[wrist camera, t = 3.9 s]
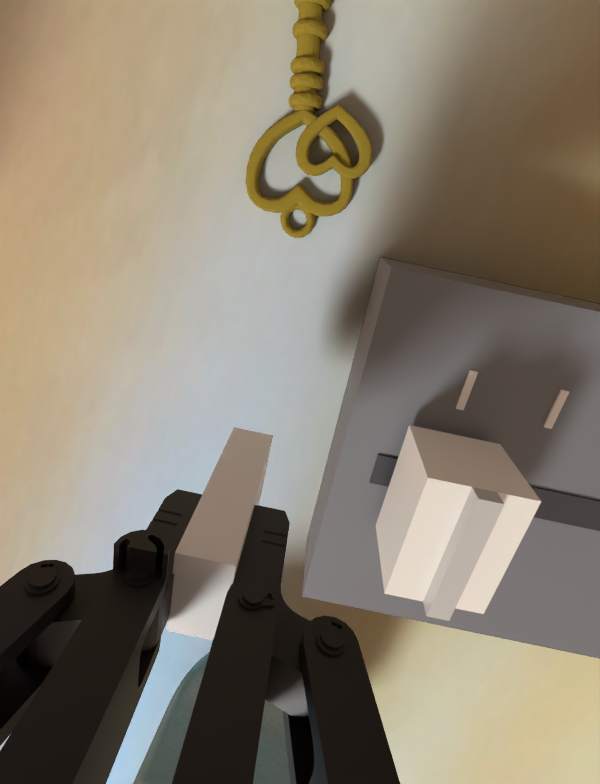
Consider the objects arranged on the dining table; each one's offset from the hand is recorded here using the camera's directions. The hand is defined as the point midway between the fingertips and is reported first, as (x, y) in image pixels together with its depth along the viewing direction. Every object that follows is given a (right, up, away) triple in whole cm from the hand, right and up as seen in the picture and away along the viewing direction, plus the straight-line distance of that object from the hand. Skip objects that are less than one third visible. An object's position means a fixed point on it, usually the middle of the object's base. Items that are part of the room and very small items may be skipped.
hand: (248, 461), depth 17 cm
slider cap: (+8, -1, +1) cm, 8 cm away
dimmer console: (+15, -1, +5) cm, 16 cm away
